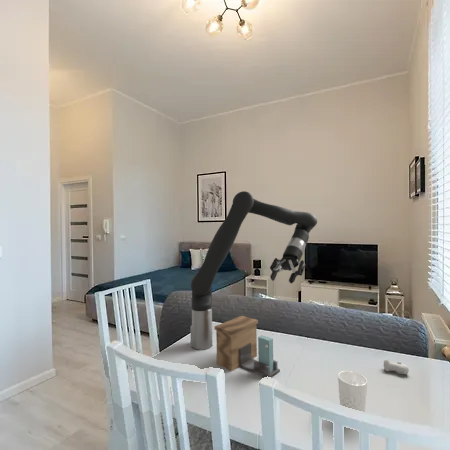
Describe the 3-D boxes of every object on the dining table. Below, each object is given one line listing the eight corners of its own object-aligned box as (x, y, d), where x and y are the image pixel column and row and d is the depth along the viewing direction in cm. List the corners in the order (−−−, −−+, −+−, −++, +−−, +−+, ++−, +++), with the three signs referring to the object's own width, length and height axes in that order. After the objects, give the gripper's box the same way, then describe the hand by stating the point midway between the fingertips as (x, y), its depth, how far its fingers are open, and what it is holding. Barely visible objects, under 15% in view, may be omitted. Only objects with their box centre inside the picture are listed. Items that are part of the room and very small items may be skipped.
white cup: (365, 405, 87) (365, 373, 87) (369, 422, 79) (369, 387, 79) (337, 400, 89) (337, 369, 89) (339, 417, 82) (338, 382, 82)
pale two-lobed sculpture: (408, 375, 105) (408, 377, 101) (383, 369, 110) (383, 371, 106) (408, 363, 106) (408, 364, 102) (384, 357, 111) (383, 358, 107)
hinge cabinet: (215, 364, 114) (214, 326, 113) (241, 349, 126) (241, 315, 126) (261, 385, 98) (260, 341, 98) (286, 366, 111) (286, 327, 111)
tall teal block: (257, 369, 108) (256, 337, 107) (262, 365, 110) (262, 335, 110) (268, 374, 104) (267, 341, 104) (273, 370, 107) (272, 338, 107)
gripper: (277, 244, 127) (262, 273, 119) (306, 245, 117) (293, 277, 109) (283, 254, 131) (269, 283, 122) (312, 257, 121) (300, 288, 113)
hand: (281, 280), depth 116 cm, fingers open, 8 cm apart
